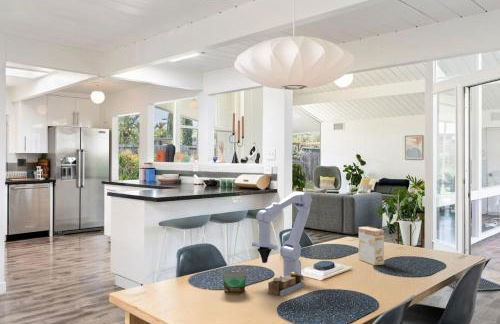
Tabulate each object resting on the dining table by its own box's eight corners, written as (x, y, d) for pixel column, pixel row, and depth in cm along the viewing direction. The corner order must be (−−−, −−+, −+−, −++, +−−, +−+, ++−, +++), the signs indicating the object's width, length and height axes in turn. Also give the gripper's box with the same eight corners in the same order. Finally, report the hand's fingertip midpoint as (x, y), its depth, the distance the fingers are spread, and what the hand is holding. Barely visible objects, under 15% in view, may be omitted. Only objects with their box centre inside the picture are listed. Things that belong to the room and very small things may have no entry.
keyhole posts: (292, 284, 207) (292, 271, 207) (299, 285, 204) (299, 272, 204) (271, 293, 194) (271, 279, 194) (278, 294, 192) (278, 280, 192)
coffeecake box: (384, 264, 243) (384, 229, 242) (374, 265, 240) (374, 230, 240) (368, 258, 257) (367, 225, 256) (358, 259, 254) (357, 226, 254)
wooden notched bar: (293, 283, 208) (292, 273, 208) (301, 285, 205) (301, 275, 205) (268, 293, 194) (268, 282, 194) (277, 295, 190) (277, 284, 190)
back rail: (302, 286, 204) (302, 281, 204) (304, 286, 204) (304, 282, 204) (279, 295, 190) (279, 291, 190) (281, 296, 190) (281, 291, 190)
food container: (224, 296, 191) (223, 273, 190) (221, 291, 197) (221, 270, 196) (250, 293, 194) (250, 271, 194) (247, 289, 200) (247, 268, 200)
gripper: (247, 234, 211) (248, 261, 211) (271, 237, 202) (271, 266, 202) (257, 232, 217) (257, 259, 217) (280, 235, 207) (280, 263, 207)
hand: (264, 262), depth 210 cm, fingers closed
